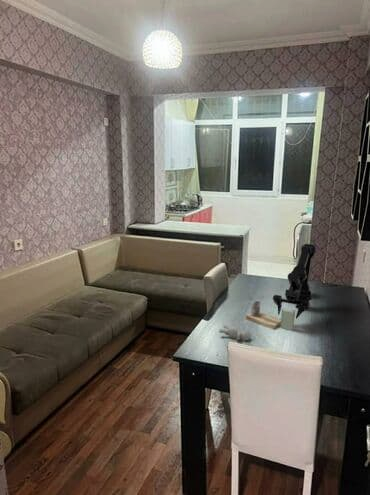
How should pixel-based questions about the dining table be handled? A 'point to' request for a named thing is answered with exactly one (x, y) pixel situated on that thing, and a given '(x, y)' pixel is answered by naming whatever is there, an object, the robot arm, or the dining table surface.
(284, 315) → the sage book
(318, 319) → the dining table surface
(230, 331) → the bunny figurine
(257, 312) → the tan board with upright
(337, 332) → the dining table surface
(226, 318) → the dining table surface
